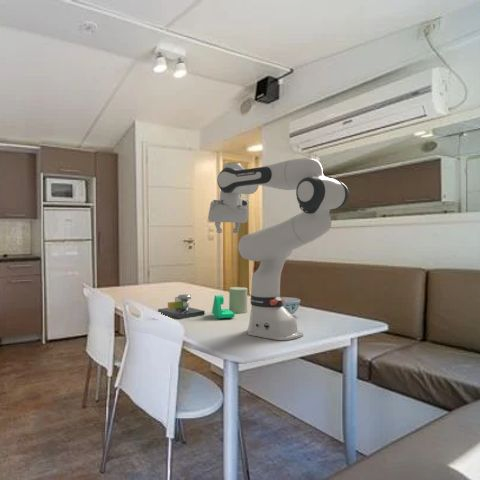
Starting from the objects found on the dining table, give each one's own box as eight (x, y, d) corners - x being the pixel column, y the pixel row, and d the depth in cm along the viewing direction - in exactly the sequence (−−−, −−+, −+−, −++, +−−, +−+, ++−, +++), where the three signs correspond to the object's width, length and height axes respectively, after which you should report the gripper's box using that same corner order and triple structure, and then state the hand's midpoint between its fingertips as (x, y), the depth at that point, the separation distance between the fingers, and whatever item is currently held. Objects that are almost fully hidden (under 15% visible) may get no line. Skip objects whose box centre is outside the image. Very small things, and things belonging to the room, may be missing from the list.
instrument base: (204, 315, 194) (204, 298, 194) (180, 319, 185) (180, 301, 185) (182, 309, 207) (182, 294, 207) (158, 313, 198) (158, 297, 198)
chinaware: (276, 311, 204) (276, 296, 204) (305, 315, 197) (305, 298, 197) (262, 316, 192) (262, 300, 191) (292, 320, 184) (292, 303, 184)
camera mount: (235, 319, 186) (235, 296, 186) (218, 320, 184) (218, 297, 184) (227, 314, 198) (227, 292, 197) (212, 315, 195) (212, 293, 195)
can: (250, 310, 206) (250, 286, 206) (242, 314, 198) (243, 289, 198) (233, 309, 210) (234, 285, 210) (225, 312, 202) (225, 287, 201)
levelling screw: (186, 308, 198) (186, 294, 198) (193, 310, 194) (193, 295, 194) (165, 311, 190) (165, 296, 190) (172, 313, 186) (172, 298, 186)
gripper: (215, 199, 169) (213, 233, 170) (251, 202, 183) (248, 233, 184) (206, 199, 173) (204, 231, 175) (241, 201, 187) (239, 232, 189)
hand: (227, 232), depth 179 cm, fingers open, 8 cm apart
